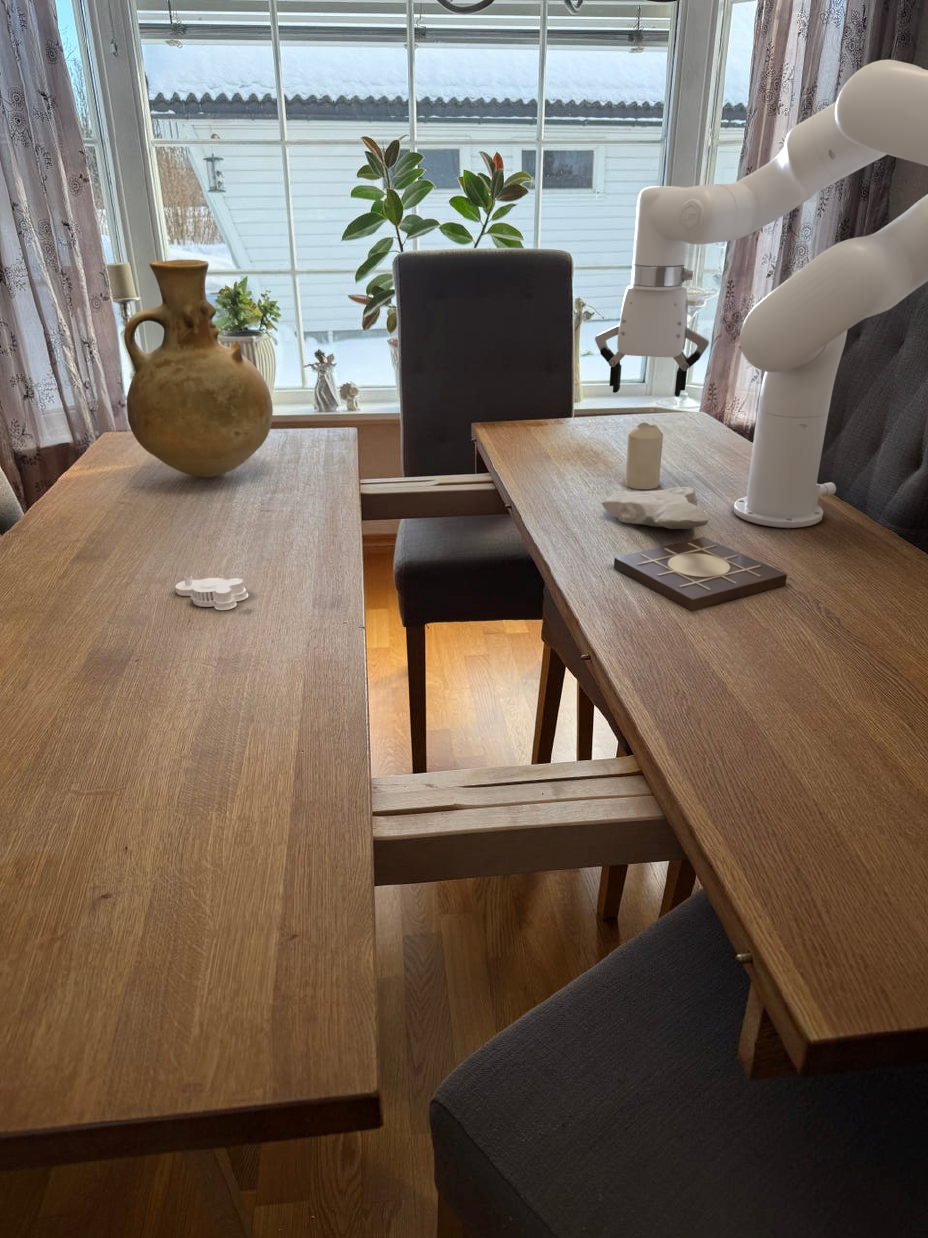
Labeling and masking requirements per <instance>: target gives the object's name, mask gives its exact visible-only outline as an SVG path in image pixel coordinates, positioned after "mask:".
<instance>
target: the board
mask: <svg viewBox="0 0 928 1238" xmlns="http://www.w3.org/2000/svg"><path fill="white" fill-rule="evenodd" d="M613 558H614V560H613V569H614V570H616V571H618V572H621V573H622V574H623V575H626V576H628V577H629V578H631V579H634V580H635V581H636V582H638V583H640V584H642V585H644V586H646V587H647V588H648V589H650V590H653V591H655V592H656V593H658V594H660V595H662V596H663V597H665V598H667V599H669V600H670V601H672V602H674V603H676V604H679V605H680V606H681V607H683V608H685V609H687V610H689V611H690V612H694V611H697V610H700V609H704V608H708V607H710V606H711V607H712V606H715V605H718V604H722V603H725V602H729V601H732V600H736V599H741V598H743V597H747V596H751V595H755V594H759V593H762V592H766V591H769V590H773V589H776V588H780V587H784V586H786V583H787V577H788V573H786V572H783V571H781V570H779V569H777V568H774V567H772V566H769V565H768V564H766V563H763V562H761V561H758V560H756V559H754V558H752V557H750V556H747V555H745V554H743V553H740V552H739V551H736V550H734V549H732V548H729V547H727V546H725V545H723V544H721V543H719V542H717V541H714V540H712V539H709V538H707V537H705V536H702V537H697V538H693V539H689V540H685V541H680V542H676V543H671V544H667V545H663V546H658V547H655V548H650V549H646V550H645V549H644V550H642V551H636V552H633V553H632V552H631V553H627V554H623V555H620V556H616V557H613Z"/></svg>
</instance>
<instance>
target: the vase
mask: <svg viewBox="0 0 928 1238" xmlns="http://www.w3.org/2000/svg"><path fill="white" fill-rule="evenodd" d="M209 264H210V263H209V262H208V261H207V260H200V259H190V258H189V259H170V260H154V261H151V262H150V263H149V267H150V269H151V272H152V273H153V274H154V277H155V280H156V281H157V284H158V289H159V292H160V297H161V304H160V305H159V306H156V307H153V308H148V309H145V310H141V311H137V312H135V313H134V314H133V315H131V317H129V319H128V321H127V323H126V324H125V328H124V335H123V337H124V338H123V339H124V345H125V348H126V350H127V352H128V355H129V358H130V360H131V362H132V365H133V367H134V370H135V373H134V375H133V377H132V379H131V381H130V384H129V388H128V391H127V395H126V413H127V414H126V415H127V421H128V426H129V428H130V430H131V432H132V435H133V436H134V438H135V439H136V442H138V444H139V445H140V446H141V447H142V449H144V450H145V451H146V452H148V454H150V455H152V456H153V457H155V458H156V459H158V460H159V461H161V462H162V463H163V464H166V465H167V466H169V467H171V468H172V469H174V470H176V471H177V472H180V473H182V474H185V475H188V476H193V477H198V478H214V477H218V476H219V477H220V476H221V475H226V474H228V473H230V472H232V471H233V470H235V469H237V468H238V467H240V466H241V465H243V464H244V463H245V462H246V461H248V460H249V458H251V457H252V456H253V455H254V454H255V453H256V452H257V451H258V450H259V449H260V448H261V447H262V446H263V444H264V443H265V441H266V440H267V438H268V436H269V433H270V431H271V426H272V423H273V413H274V408H273V401H272V397H271V391H270V389H269V386H268V384H267V383H266V381H265V378H263V375H262V374H261V372H260V370H259V369H258V368H257V367H256V365H255V364H254V363H252V361H250V360H249V359H248V358H247V357H246V356H245V355H244V353H243V349H242V345H241V342H240V341H239V340H238V339H236V340H235V341H234V342H233V343H232V345H230V346H225V345H223V344H222V343H220V342H219V339H218V338H219V335H220V329H219V328H218V327H217V324H216V323H215V322H213V319H214V317H215V316H216V314H217V309H216V307H215V306H214V305H213V304H212V303H210V302H209V300H208V298H207V293H206V278H207V273H208V271H209V266H210V265H209ZM144 322H154V323H156V324H159V325H160V326H161V327H162V329H163V339H162V342H161V344H160V345H159V346H157V348H155V349H154V350H153V351H152V352H146V351H144V350H143V349H142V348H141V347H140V346H139V345H138V344H137V342H136V332H137V329H138V327H139V325H141V324H142V323H144Z"/></svg>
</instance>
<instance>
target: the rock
mask: <svg viewBox="0 0 928 1238" xmlns="http://www.w3.org/2000/svg"><path fill="white" fill-rule="evenodd" d="M601 504H602V506H603V508H604V509H605V511H607V512H609V513H610V514H611V515H612V516H614V517H616V518H617V519H618V520H619V521H620V522H622V523H626V524H634V525H635V524H636V525H644V526H648V527H655V528H666V529H669V530H676V529H681V530H686V529H687V530H688V529H689V530H690V529H691V530H692V529H694V528H700V527H704V526H706V525H707V524H708V523H709V517H708V515H707V514H706V512H705V510H704V509H703V508H702V507H700V506H698V498H697V496H696V492H695V489H694V487H692V486H681V487H680V486H675V487H669V488H663V489H661V490H660V489H659V490H649V491H646V490H645V491H628V490H617V491H615V492H614V493H612V494H611V495H610V496H608V498H606V499H605V500H602V502H601Z"/></svg>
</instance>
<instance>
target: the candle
mask: <svg viewBox="0 0 928 1238" xmlns="http://www.w3.org/2000/svg"><path fill="white" fill-rule="evenodd" d="M663 441H664V433H663V432H662V431H661V430H660V428H659V427H658V425H657V424H652V425H651V424H649V423H648V422H640V423H639V424H637V426H635V427H633V428H632V429H631V430H630V431H628V433H627V448H626V449H627V450H626V461H625V462H626V465H625V477H624V478H625V479H624V481H625V482H624V485H625V486H627V487H628V488H631V489H635V490H653V489H656V488H658V487H659V486H660V477H661V465H662V452H663Z"/></svg>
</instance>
